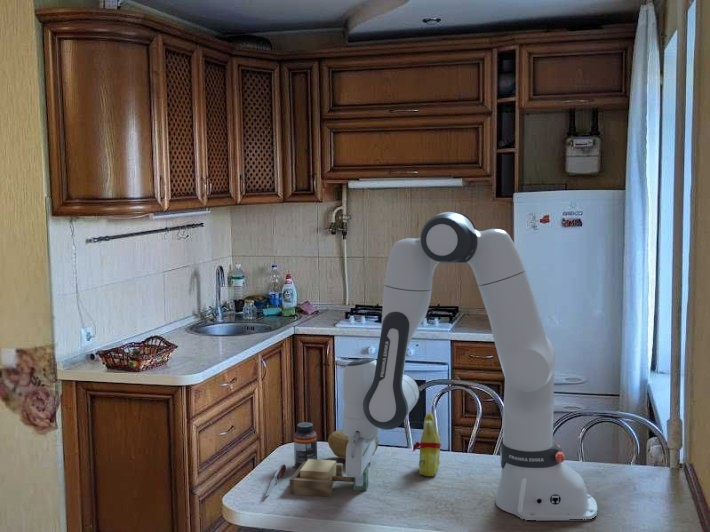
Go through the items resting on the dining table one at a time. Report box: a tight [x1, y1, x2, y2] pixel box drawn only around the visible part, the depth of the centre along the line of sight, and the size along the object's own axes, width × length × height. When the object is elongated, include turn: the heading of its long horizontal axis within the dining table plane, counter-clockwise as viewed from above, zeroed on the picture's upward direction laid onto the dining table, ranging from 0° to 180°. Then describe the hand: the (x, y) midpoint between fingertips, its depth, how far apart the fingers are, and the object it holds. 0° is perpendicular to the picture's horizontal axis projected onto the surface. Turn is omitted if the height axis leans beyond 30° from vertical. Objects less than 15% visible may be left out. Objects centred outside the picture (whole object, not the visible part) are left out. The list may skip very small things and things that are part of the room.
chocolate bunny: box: [412, 412, 442, 477], centre depth 208 cm, size 7×11×15 cm, turn 167°
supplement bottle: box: [293, 421, 318, 470], centre depth 212 cm, size 6×6×11 cm
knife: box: [265, 464, 287, 497], centre depth 200 cm, size 20×1×3 cm, turn 173°
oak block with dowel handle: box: [300, 459, 369, 492], centre depth 198 cm, size 16×8×5 cm, turn 78°
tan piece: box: [289, 461, 344, 498], centre depth 199 cm, size 10×13×4 cm
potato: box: [327, 429, 380, 460], centre depth 217 cm, size 10×14×8 cm
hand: (361, 481), depth 197 cm, fingers closed on oak block with dowel handle, 3 cm apart
